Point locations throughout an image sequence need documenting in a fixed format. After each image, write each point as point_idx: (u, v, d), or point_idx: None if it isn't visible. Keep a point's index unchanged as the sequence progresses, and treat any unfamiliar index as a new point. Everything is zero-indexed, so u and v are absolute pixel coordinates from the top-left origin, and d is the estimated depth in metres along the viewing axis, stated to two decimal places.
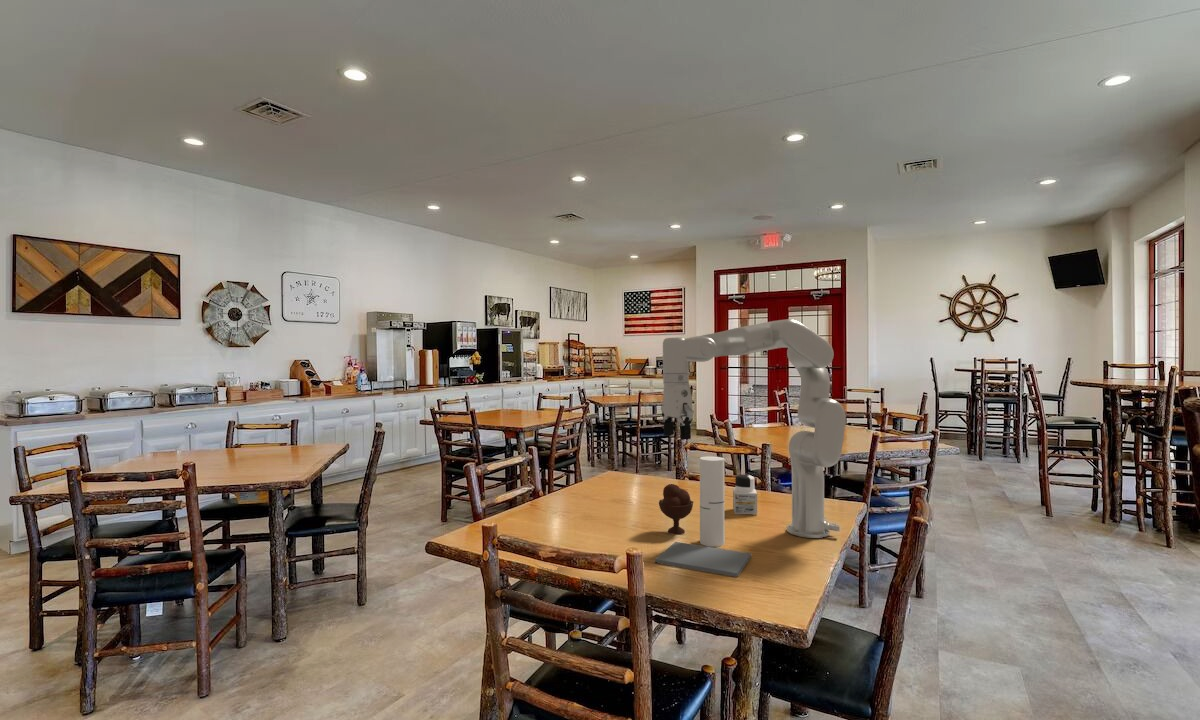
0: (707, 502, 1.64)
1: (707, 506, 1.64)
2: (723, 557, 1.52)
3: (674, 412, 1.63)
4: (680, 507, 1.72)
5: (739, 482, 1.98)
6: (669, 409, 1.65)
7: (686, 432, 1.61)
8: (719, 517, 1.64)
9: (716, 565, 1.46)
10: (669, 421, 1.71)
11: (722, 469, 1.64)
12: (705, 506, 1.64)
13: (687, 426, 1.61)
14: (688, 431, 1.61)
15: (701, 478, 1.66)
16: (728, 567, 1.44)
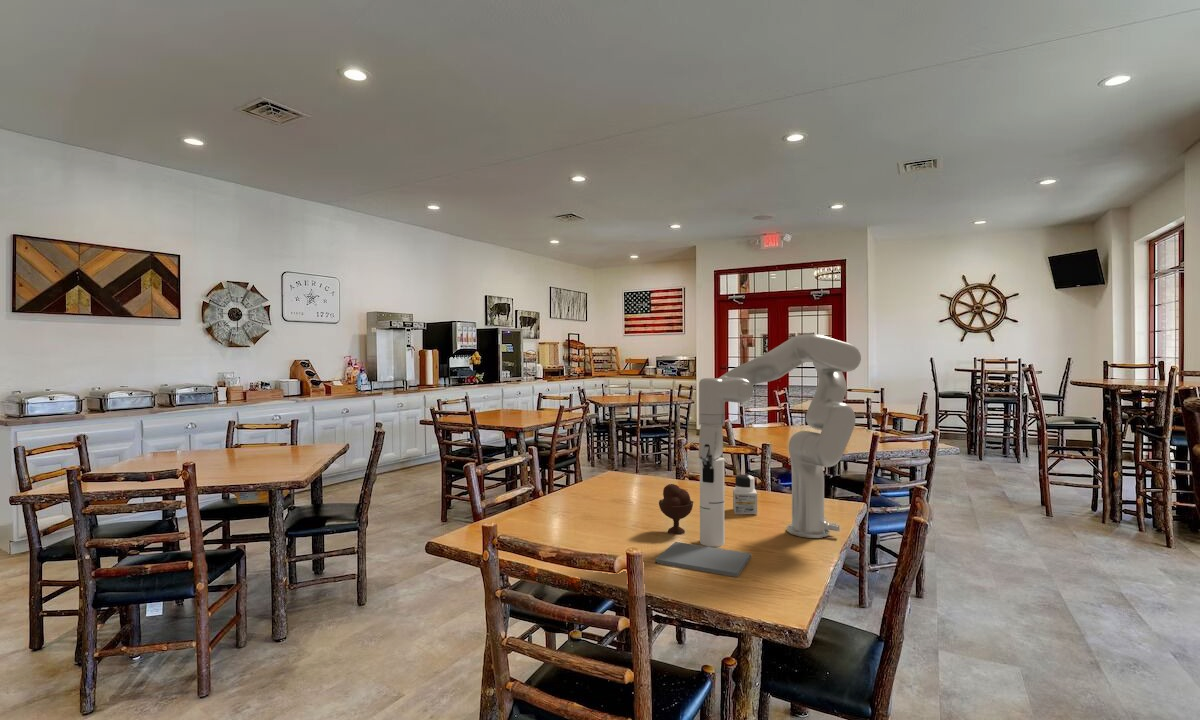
0: (707, 502, 1.64)
1: (707, 506, 1.64)
2: (723, 557, 1.52)
3: (721, 451, 1.68)
4: (680, 507, 1.72)
5: (739, 482, 1.98)
6: (719, 450, 1.66)
7: None
8: (719, 517, 1.64)
9: (716, 565, 1.46)
10: None
11: (722, 469, 1.64)
12: (705, 506, 1.64)
13: None
14: None
15: (701, 478, 1.66)
16: (728, 567, 1.44)
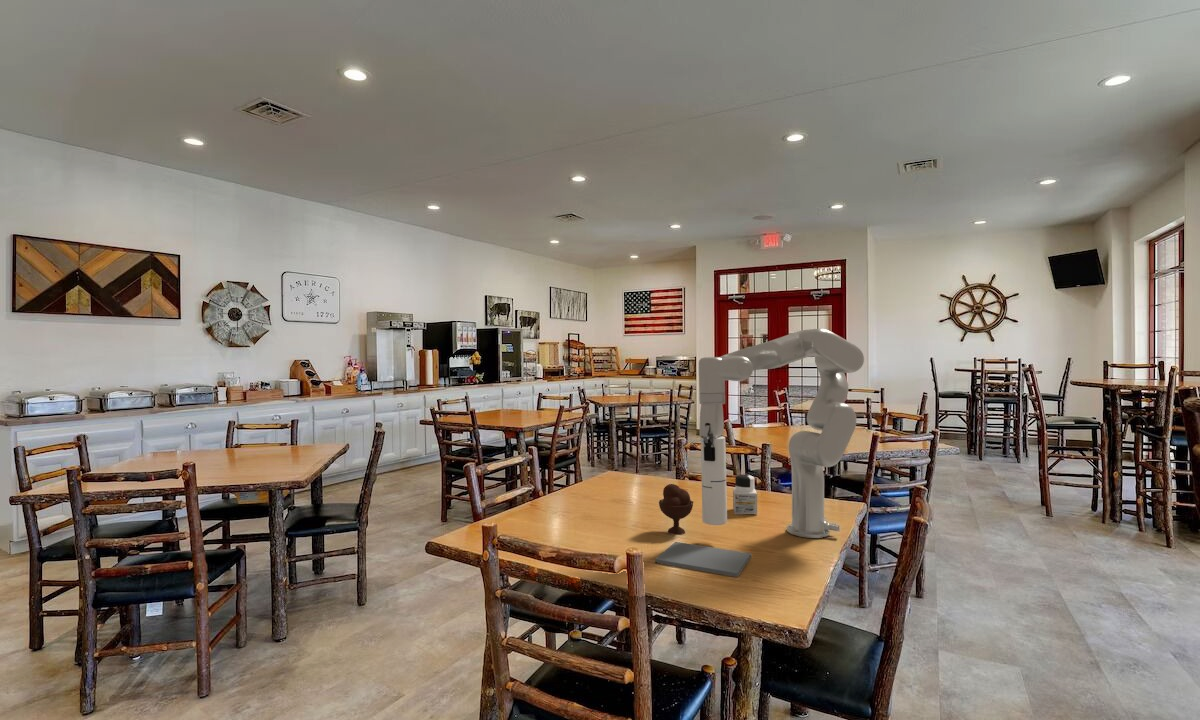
0: (709, 481, 1.64)
1: (709, 485, 1.64)
2: (723, 557, 1.52)
3: (722, 430, 1.68)
4: (680, 507, 1.72)
5: (739, 482, 1.98)
6: (720, 428, 1.66)
7: None
8: (721, 495, 1.64)
9: (716, 565, 1.46)
10: None
11: (723, 448, 1.64)
12: (707, 485, 1.64)
13: None
14: None
15: (702, 457, 1.66)
16: (728, 567, 1.44)
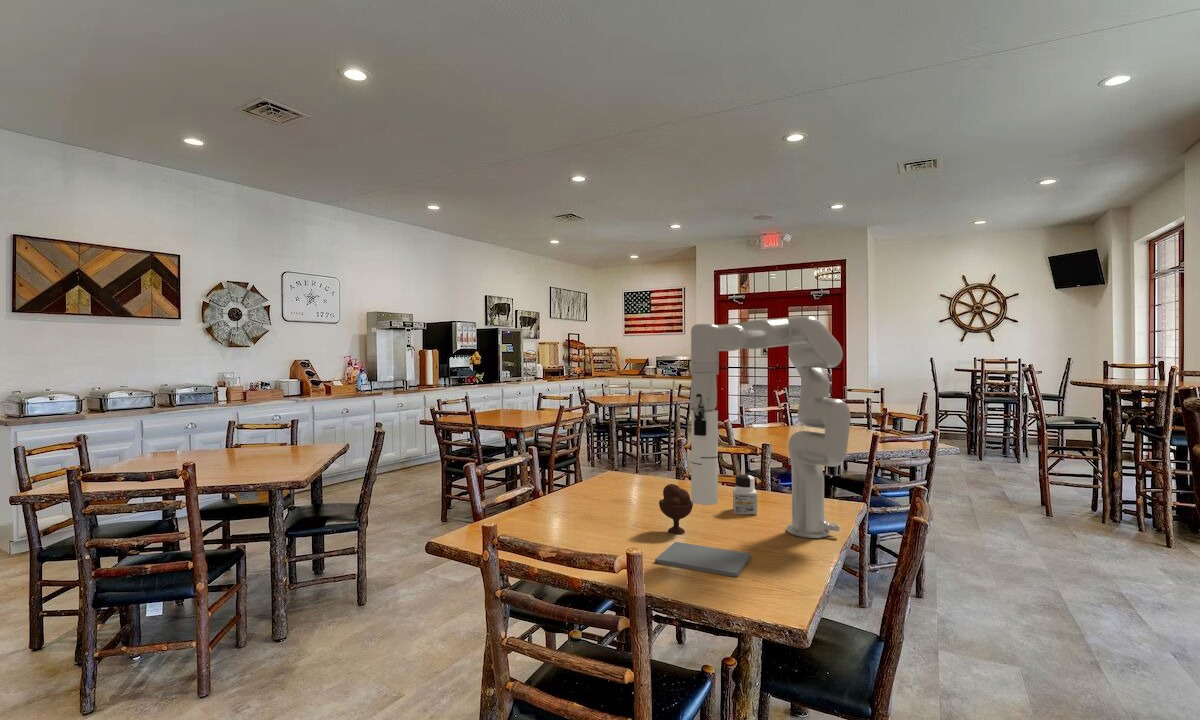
0: (699, 457, 1.52)
1: (699, 461, 1.52)
2: (723, 557, 1.52)
3: (715, 403, 1.56)
4: (680, 507, 1.72)
5: (739, 482, 1.98)
6: (713, 401, 1.54)
7: None
8: (712, 473, 1.51)
9: (716, 565, 1.46)
10: None
11: (715, 421, 1.52)
12: (696, 461, 1.52)
13: None
14: None
15: (692, 431, 1.54)
16: (728, 567, 1.44)
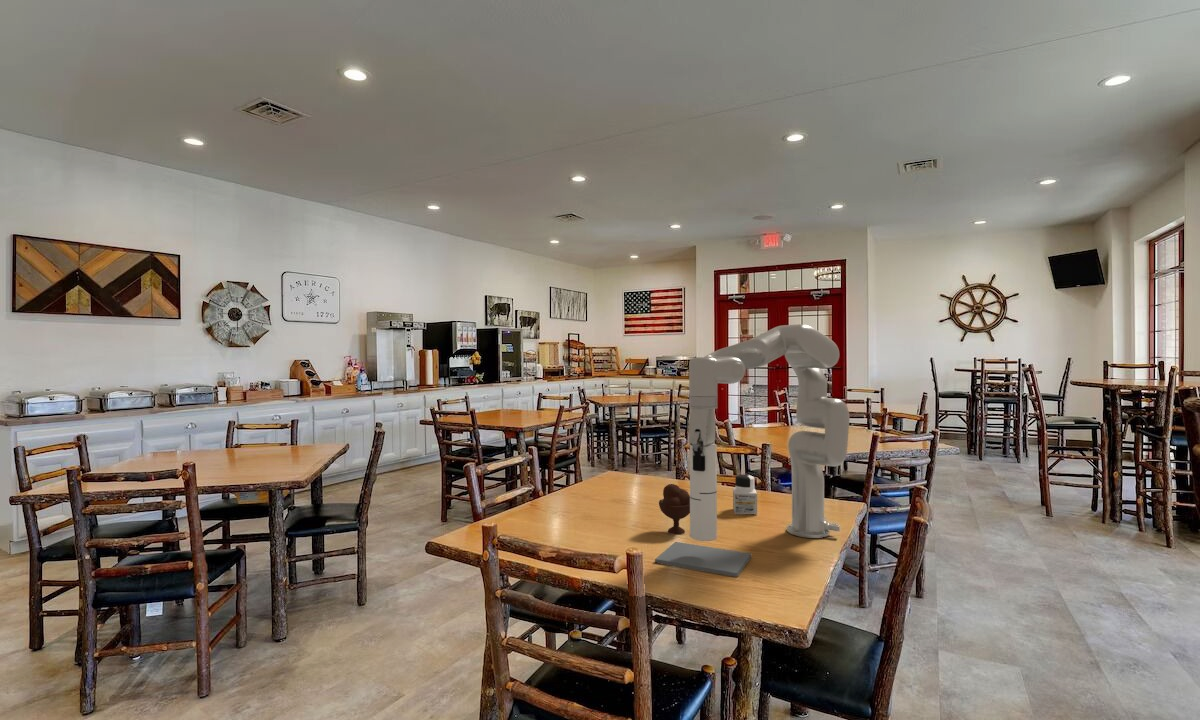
0: (698, 492, 1.50)
1: (698, 497, 1.50)
2: (723, 557, 1.52)
3: (713, 437, 1.54)
4: (680, 507, 1.72)
5: (739, 482, 1.98)
6: (711, 435, 1.52)
7: None
8: (711, 509, 1.49)
9: (716, 565, 1.46)
10: None
11: (714, 456, 1.50)
12: (695, 497, 1.50)
13: None
14: None
15: (691, 466, 1.51)
16: (728, 567, 1.44)
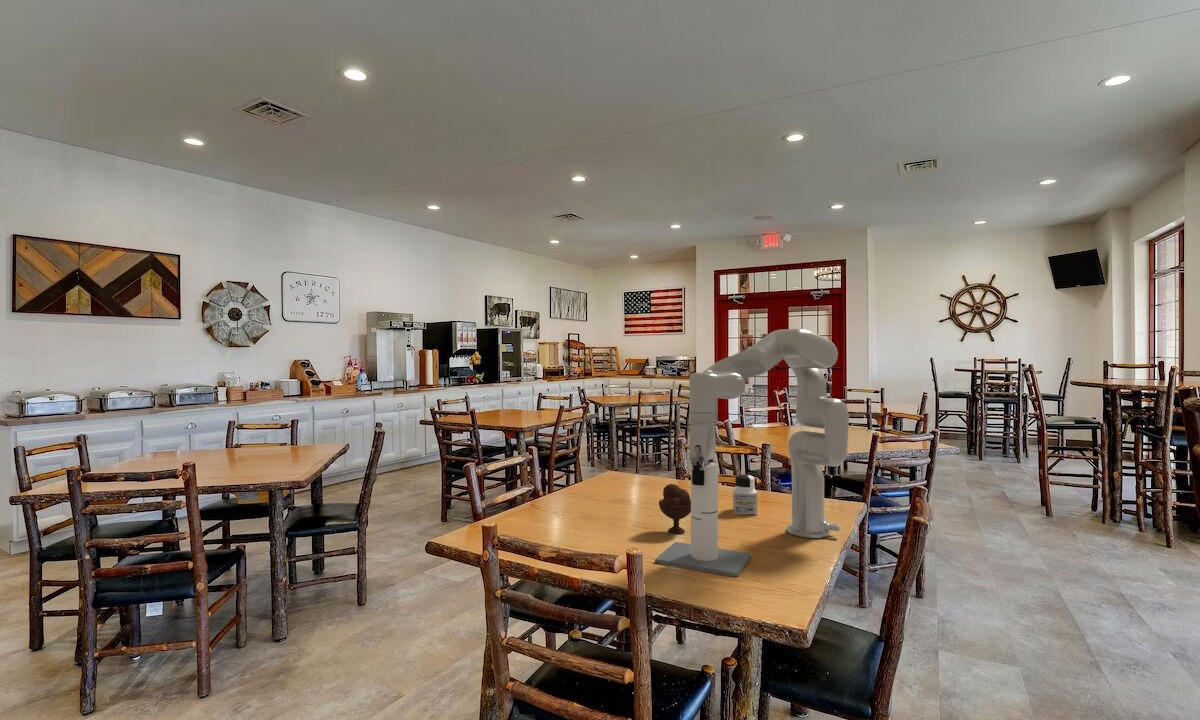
0: (699, 512, 1.50)
1: (699, 516, 1.50)
2: (723, 557, 1.52)
3: (714, 452, 1.54)
4: (680, 507, 1.72)
5: (739, 482, 1.98)
6: (712, 451, 1.52)
7: None
8: (712, 528, 1.50)
9: (716, 565, 1.46)
10: None
11: (715, 476, 1.50)
12: (696, 516, 1.50)
13: None
14: None
15: (692, 485, 1.52)
16: (728, 567, 1.44)
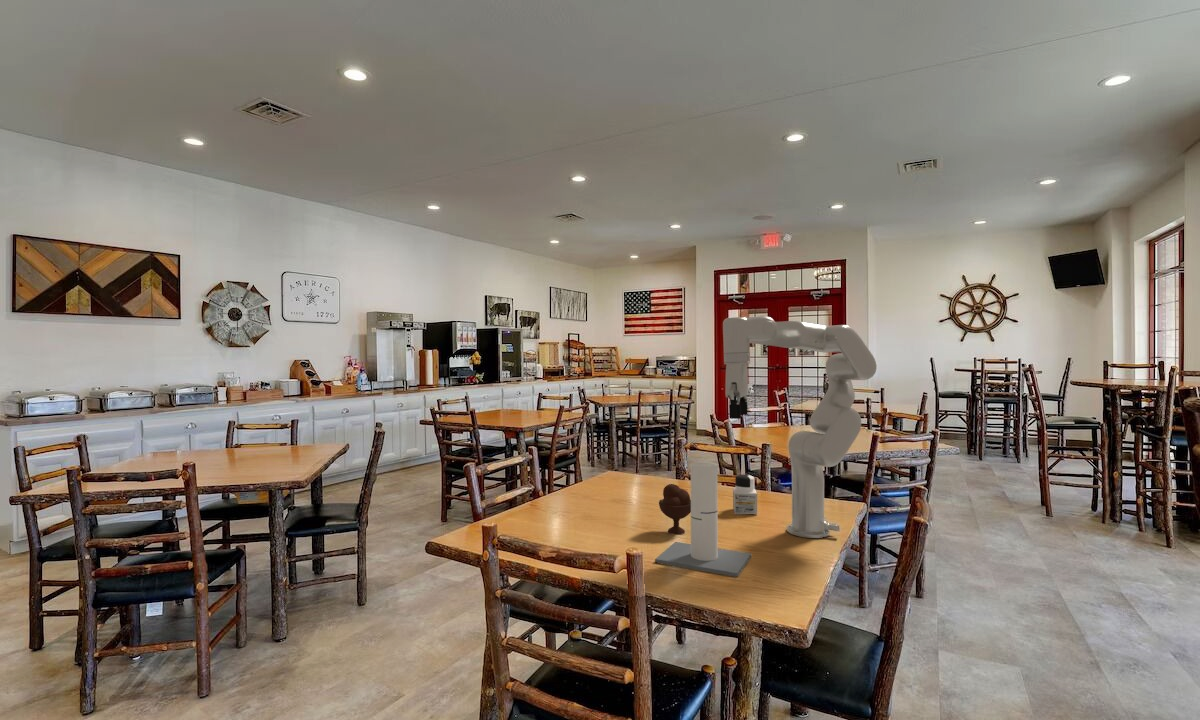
0: (698, 512, 1.50)
1: (698, 516, 1.50)
2: (723, 557, 1.52)
3: (747, 390, 1.69)
4: (680, 507, 1.72)
5: (739, 482, 1.98)
6: (745, 388, 1.66)
7: None
8: (712, 528, 1.50)
9: (716, 565, 1.46)
10: None
11: (714, 476, 1.50)
12: (696, 516, 1.50)
13: None
14: None
15: (692, 485, 1.52)
16: (728, 567, 1.44)
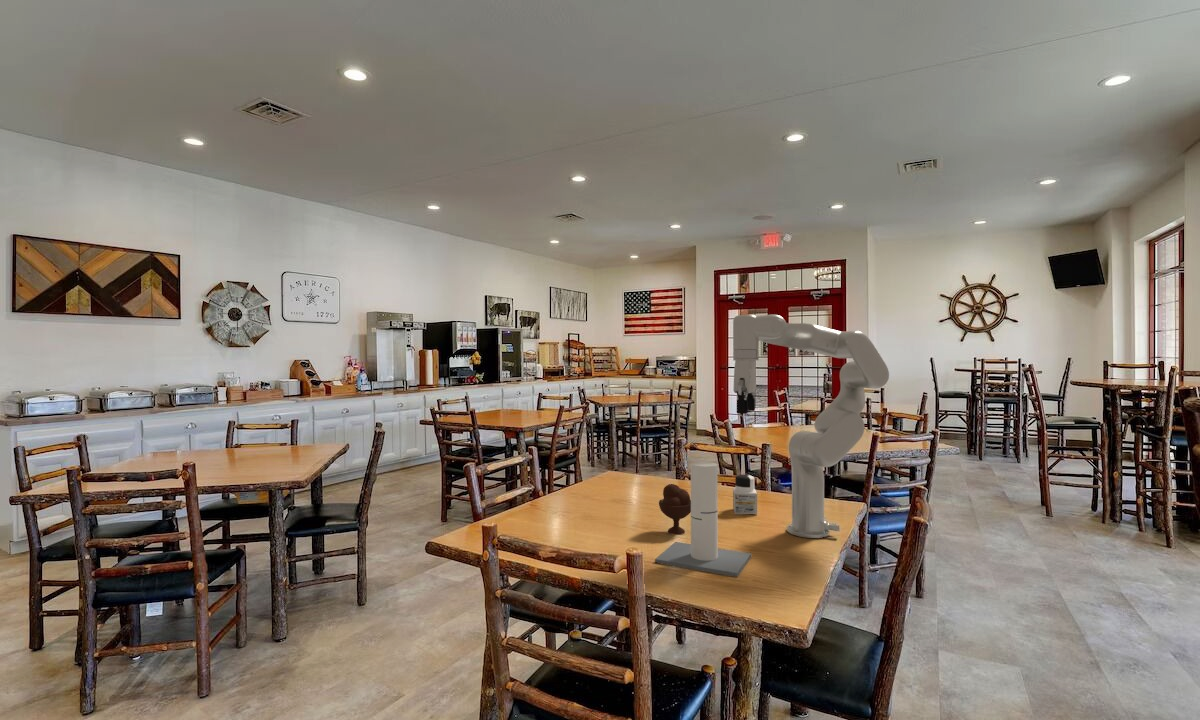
0: (698, 512, 1.50)
1: (698, 516, 1.50)
2: (723, 557, 1.52)
3: (754, 387, 1.72)
4: (680, 507, 1.72)
5: (739, 482, 1.98)
6: (753, 384, 1.70)
7: None
8: (712, 528, 1.50)
9: (716, 565, 1.46)
10: None
11: (714, 476, 1.50)
12: (696, 516, 1.50)
13: None
14: None
15: (692, 485, 1.52)
16: (728, 567, 1.44)
